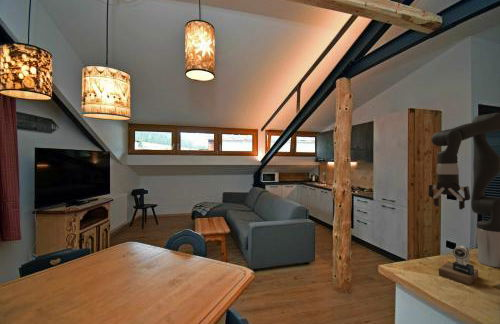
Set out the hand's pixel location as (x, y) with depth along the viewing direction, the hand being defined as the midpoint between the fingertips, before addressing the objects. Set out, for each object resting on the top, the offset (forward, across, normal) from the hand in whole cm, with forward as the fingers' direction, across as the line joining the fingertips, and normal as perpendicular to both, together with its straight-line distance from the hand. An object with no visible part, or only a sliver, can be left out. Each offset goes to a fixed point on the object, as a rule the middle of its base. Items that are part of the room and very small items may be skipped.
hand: (448, 207), depth 100 cm
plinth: (+30, -3, +2) cm, 30 cm away
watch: (+27, -5, +2) cm, 28 cm away
